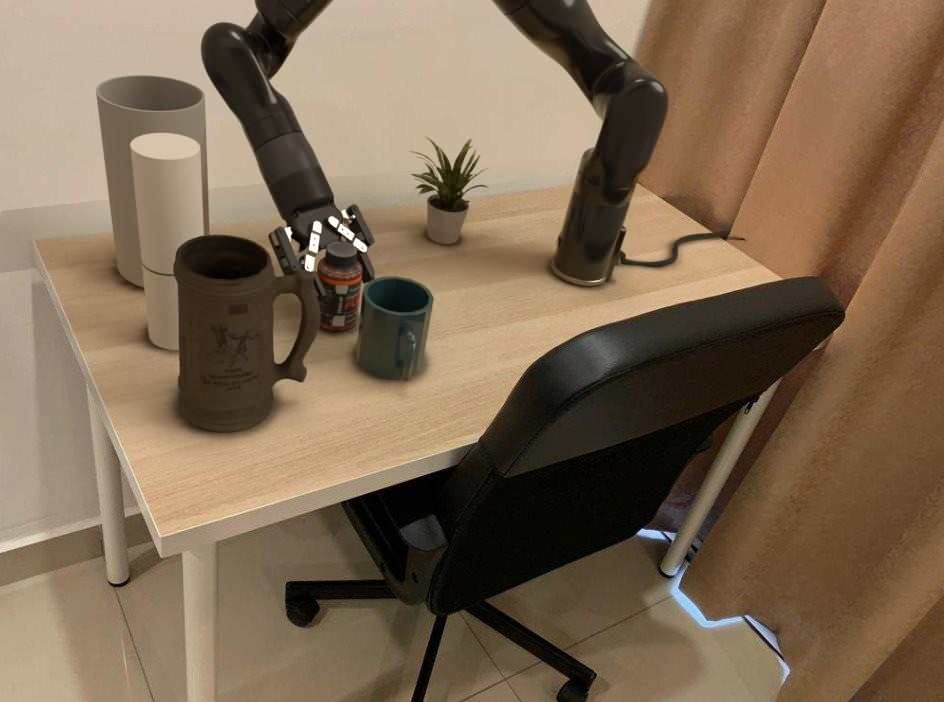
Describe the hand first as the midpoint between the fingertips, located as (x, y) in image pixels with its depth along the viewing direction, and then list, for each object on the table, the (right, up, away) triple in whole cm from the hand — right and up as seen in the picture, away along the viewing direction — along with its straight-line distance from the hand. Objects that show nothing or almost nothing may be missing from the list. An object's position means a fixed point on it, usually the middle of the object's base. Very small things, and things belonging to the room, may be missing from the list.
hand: (346, 290), depth 102 cm
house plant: (+12, +13, +30) cm, 35 cm away
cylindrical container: (-21, -6, -4) cm, 22 cm away
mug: (+6, -10, -2) cm, 12 cm away
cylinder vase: (-27, +4, +8) cm, 28 cm away
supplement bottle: (-2, -4, +4) cm, 6 cm away
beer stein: (-10, -14, -11) cm, 21 cm away
